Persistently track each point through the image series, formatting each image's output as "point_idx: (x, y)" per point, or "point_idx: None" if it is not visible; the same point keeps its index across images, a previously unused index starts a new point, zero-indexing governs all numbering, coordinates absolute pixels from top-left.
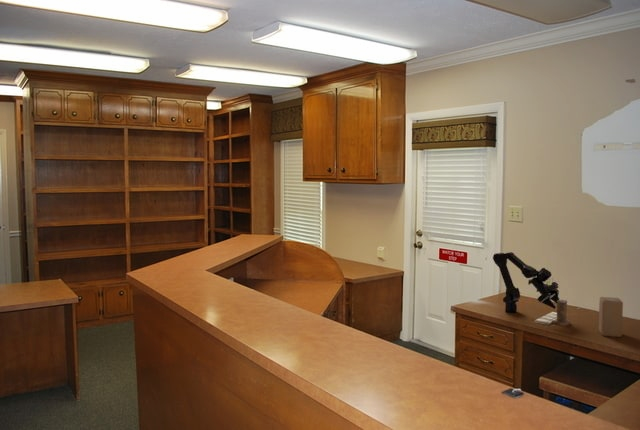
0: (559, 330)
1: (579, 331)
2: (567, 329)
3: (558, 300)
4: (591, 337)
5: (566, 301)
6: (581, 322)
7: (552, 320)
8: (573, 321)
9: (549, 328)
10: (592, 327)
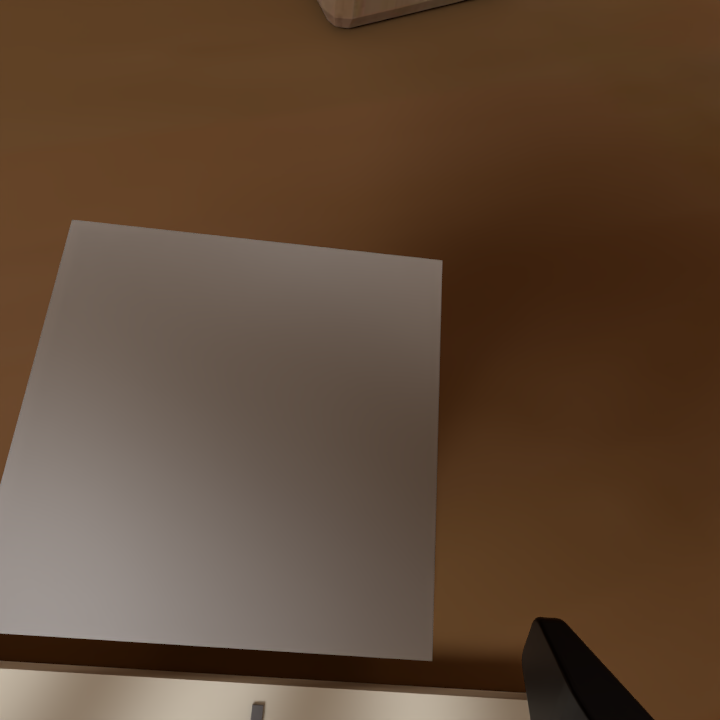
0: (683, 429)
1: (522, 204)
2: (547, 350)
3: (313, 608)
4: (655, 63)
5: (169, 243)
6: (8, 276)
7: (307, 700)
8: (9, 392)
9: (706, 595)
10: (213, 113)
